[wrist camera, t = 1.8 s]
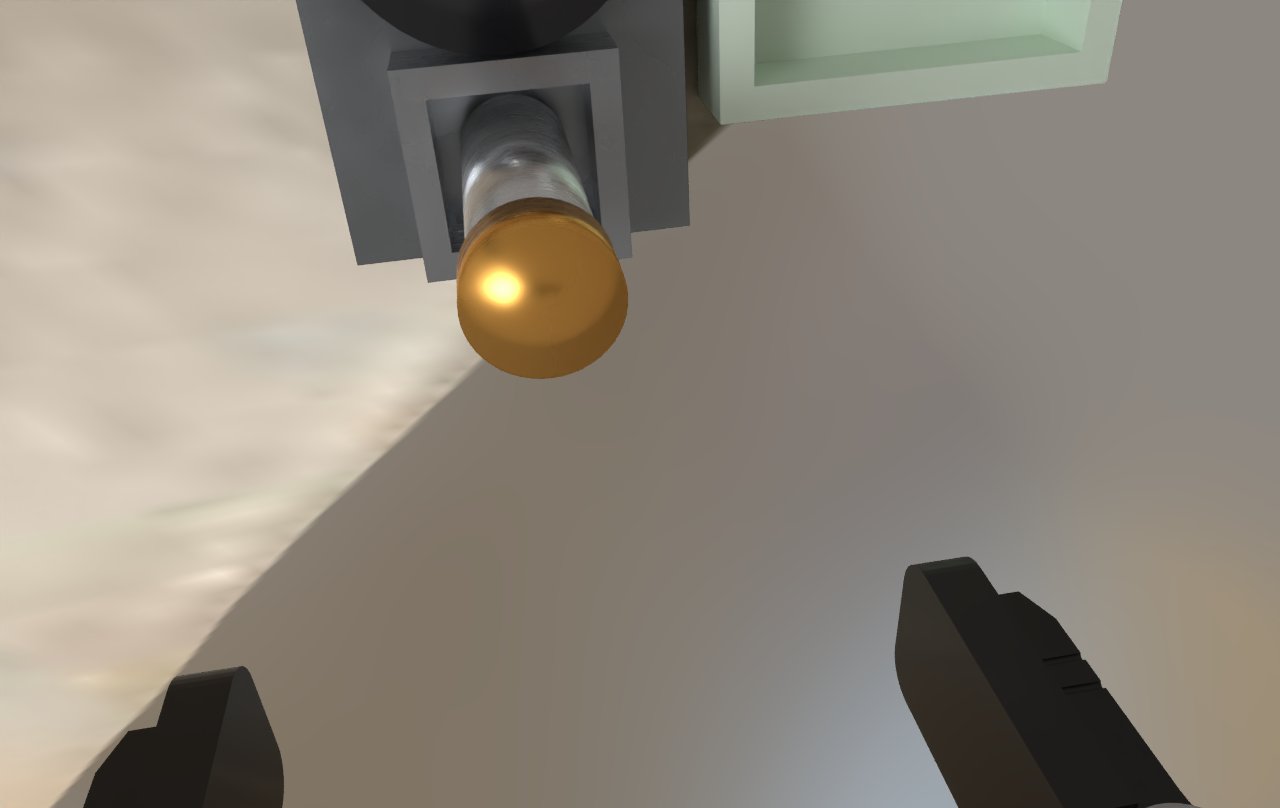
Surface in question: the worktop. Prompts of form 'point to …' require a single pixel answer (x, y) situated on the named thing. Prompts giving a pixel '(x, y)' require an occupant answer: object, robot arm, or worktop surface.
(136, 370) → the worktop surface
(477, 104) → the tensioner block
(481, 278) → the pin
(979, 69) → the tray
